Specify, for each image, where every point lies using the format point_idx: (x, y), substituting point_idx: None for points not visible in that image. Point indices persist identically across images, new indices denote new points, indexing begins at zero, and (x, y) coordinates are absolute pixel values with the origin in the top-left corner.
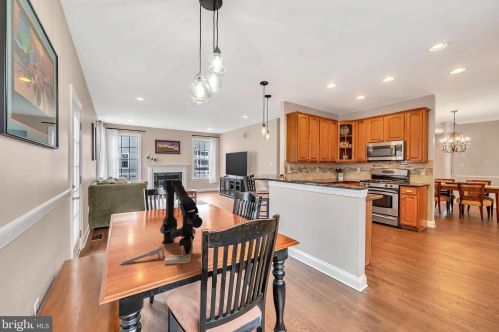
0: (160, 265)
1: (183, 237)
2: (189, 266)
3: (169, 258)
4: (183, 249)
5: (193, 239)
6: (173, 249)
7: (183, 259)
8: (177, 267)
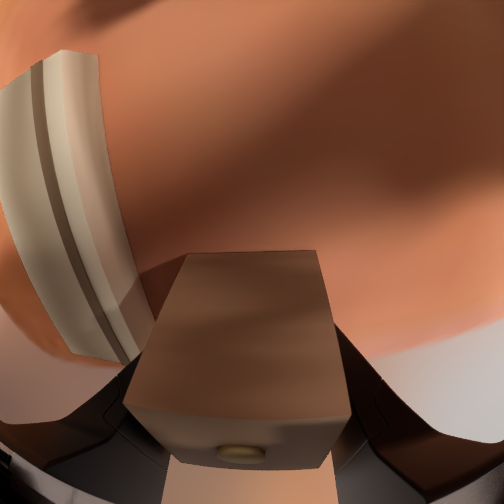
0: (4, 76)
1: (458, 490)
2: (48, 325)
3: (6, 144)
4: (154, 343)
5: (338, 497)
6: (468, 73)
7: (48, 305)
8: (8, 248)
